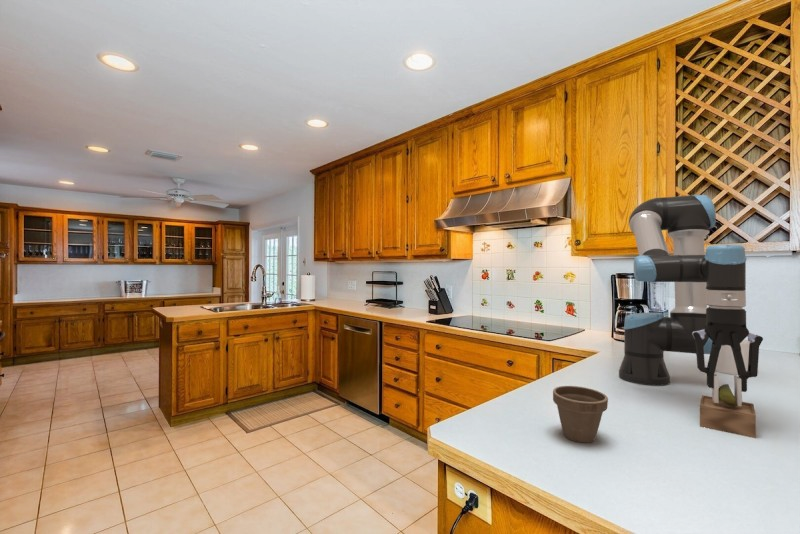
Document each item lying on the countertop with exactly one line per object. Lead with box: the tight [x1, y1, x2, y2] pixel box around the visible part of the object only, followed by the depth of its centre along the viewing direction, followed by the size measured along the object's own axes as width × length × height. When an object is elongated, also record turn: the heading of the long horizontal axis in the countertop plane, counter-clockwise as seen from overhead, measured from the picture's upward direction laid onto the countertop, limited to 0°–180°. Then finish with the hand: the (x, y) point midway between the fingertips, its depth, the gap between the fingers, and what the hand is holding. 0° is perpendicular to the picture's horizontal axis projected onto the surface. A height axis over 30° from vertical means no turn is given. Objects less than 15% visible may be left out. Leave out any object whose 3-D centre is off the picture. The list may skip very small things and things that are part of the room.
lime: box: [718, 383, 738, 406], centre depth 93 cm, size 4×5×5 cm
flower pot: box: [552, 385, 609, 444], centre depth 87 cm, size 12×11×10 cm
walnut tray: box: [699, 395, 757, 439], centre depth 94 cm, size 10×10×6 cm
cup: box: [715, 339, 750, 377], centre depth 145 cm, size 12×12×12 cm
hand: (726, 402), depth 94 cm, fingers closed on lime, 4 cm apart
